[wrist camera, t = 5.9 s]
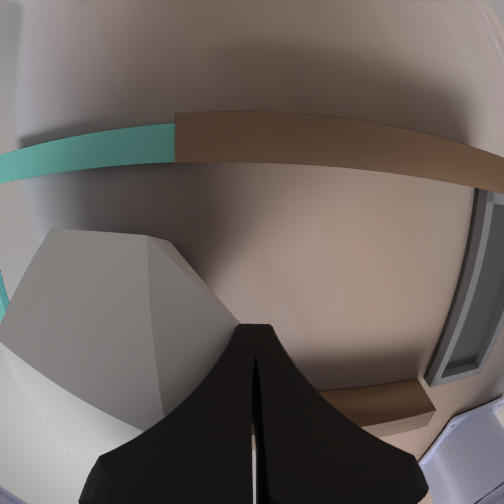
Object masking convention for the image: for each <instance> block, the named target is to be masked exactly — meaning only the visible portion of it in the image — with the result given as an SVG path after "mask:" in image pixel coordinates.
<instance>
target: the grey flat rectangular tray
mask: <svg viewBox="0 0 504 504" xmlns="http://www.w3.org/2000/svg"><path fill="white" fill-rule="evenodd" d="M503 322H504V194H500V193H496V192H492V191H488V190H483V189H479V188H476V189H475V198H474V206H473V213H472V220H471V226H470V232H469V237H468V242H467V247H466V252H465V256H464V261H463V265H462V269H461V273H460V277H459V281H458V284H457V288H456V292H455V295H454V298H453V302H452V305H451V308H450V311H449V314H448V317H447V320H446V323H445V326H444V329H443V331H442V334H441V337H440V339H439V342H438V344H437V347H436V350H435V352H434V354H433V357H432V359H431V362H430V364H429V366H428V368H427V371H426V373H425V375H424V377H423V378H424V379H425V381H426V382H427V384H428V385H429V387H433V386H437V385H441V384H444V383H448V382H452V381H455V380H459V379H462V378H466V377H469V376H472V375H475V374H478V373H480V372H481V371H482V369H483V367H484V365H485V363H486V361H487V359H488V357H489V355H490V352H491V350H492V348H493V346H494V344H495V342H496V339H497V337H498V335H499V332H500V330H501V327H502V325H503Z"/></svg>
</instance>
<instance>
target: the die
mask: <svg viewBox="0 0 504 504" xmlns="http://www.w3.org/2000/svg"><path fill="white" fill-rule="evenodd" d="M238 324H241V323H240V322H239V321H238V320H237V319H236V318H235V317H234V316H233V314H232V313H231V312H230V311H229V310H228V309H227V308H226V307H225V305H224V304H223V303H222V302H221V301H220V300H219V299H218V297H217V296H216V295H215V294H214V293H213V292H212V291H211V289H210V288H209V287H208V286H207V285H206V284H205V282H204V281H203V280H202V279H201V278H200V277H199V275H198V274H197V273H196V272H195V271H194V269H193V268H192V267H191V266H190V265H189V263H188V262H187V261H186V260H185V259H184V257H183V256H182V255H181V254H180V253H179V251H178V250H177V249H176V248H175V247H174V245H173V244H172V243H171V242H170V241H167V240H163V239H160V238H156V237H152V236H148V235H137V234H125V233H113V232H100V231H87V230H74V229H61V228H51V230H50V231H49V233H48V234H47V236H46V237H45V239H44V241H43V242H42V244H41V246H40V247H39V249H38V250H37V252H36V254H35V256H34V257H33V259H32V261H31V263H30V264H29V266H28V268H27V270H26V272H25V273H24V275H23V277H22V279H21V281H20V283H19V285H18V287H17V289H16V291H15V293H14V295H13V297H12V299H11V301H10V303H9V305H8V307H7V310H6V312H5V314H4V316H3V319H2V321H1V324H0V349H1V351H2V353H3V355H4V357H5V359H6V361H7V363H8V365H9V367H10V369H11V371H12V373H13V374H14V376H15V378H16V380H17V382H18V383H19V385H20V387H21V388H22V390H23V392H24V393H25V395H26V397H27V398H28V400H29V401H30V403H31V405H32V406H33V408H34V409H35V411H36V412H37V413H38V415H39V417H40V418H41V419H42V421H43V422H44V424H45V425H46V426H47V428H48V429H49V431H50V432H51V433H52V435H53V436H54V437H55V439H56V440H57V441H58V442H59V444H60V445H61V446H62V447H63V449H64V450H65V451H66V452H67V453H68V455H72V454H89V453H101V452H109V451H111V450H113V449H115V448H117V447H119V446H121V445H123V444H124V443H126V442H128V441H130V440H132V439H134V438H135V437H137V436H138V435H140V434H141V433H143V432H144V431H146V430H147V429H149V428H150V427H152V426H153V425H155V424H156V423H157V422H159V421H160V420H162V419H163V418H164V417H165V416H167V415H168V414H169V413H170V412H172V411H173V410H174V409H175V408H176V407H177V406H178V405H179V404H180V403H182V402H183V401H184V400H185V399H186V398H187V397H188V396H189V395H190V394H191V393H192V392H193V391H194V390H195V389H196V387H197V386H198V385H199V384H200V383H201V382H202V381H203V379H204V378H205V377H206V376H207V374H208V373H209V372H210V370H211V369H212V368H213V367H214V365H215V364H216V362H217V361H218V360H219V358H220V356H221V355H222V353H223V352H224V350H225V348H226V347H227V345H228V343H229V341H230V340H231V338H232V336H233V333H234V331H235V328H236V326H237V325H238Z"/></svg>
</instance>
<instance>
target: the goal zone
mask: <svg viewBox="0 0 504 504" xmlns="http://www.w3.org/2000/svg"><path fill="white" fill-rule="evenodd" d="M163 162H175V123H171V124H159V125H148V126H139V127H130V128H122V129H115V130H108V131H102V132H95V133H90V134H84V135H79V136H74V137H69V138H64V139H59V140H55V141H50V142H46V143H42V144H38V145H34V146H30V147H26V148H23V149H19V150H16V151H12V152H9V153H6V154H2V155H0V183H4V182H9V181H14V180H19V179H24V178H30V177H35V176H41V175H47V174H54V173H60V172H67V171H75V170H83V169H91V168H100V167H109V166H120V165H132V164H146V163H163ZM8 305H9V300H8V296H7V293H6V290H5V286H4V282H3V279H2V275H1V271H0V322H1V321H2V319H3V316H4V314H5V312H6V310H7V307H8Z"/></svg>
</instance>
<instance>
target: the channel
mask: <svg viewBox="0 0 504 504" xmlns="http://www.w3.org/2000/svg"><path fill="white" fill-rule="evenodd" d="M200 162H253V163H284V164H303V165H318V166H331V167H343V168H353V169H363V170H372V171H380V172H388V173H395V174H402V175H409V176H416V177H422V178H428V179H434V180H439V181H445V182H450V183H455V184H460V185H465V186H470V187H475V188H479V189H483V190H488V191H492V192H496V193H500V194H504V158H503V157H500V156H498V155H495V154H492V153H489V152H487V151H484V150H481V149H478V148H475V147H472V146H468V145H465V144H462V143H459V142H455V141H452V140H448V139H445V138H441V137H437V136H433V135H429V134H425V133H421V132H417V131H412V130H408V129H403V128H398V127H393V126H388V125H383V124H377V123H371V122H365V121H359V120H352V119H345V118H337V117H328V116H319V115H308V114H295V113H278V112H245V111H228V112H195V113H178V114H175V163H200ZM319 393H320V394H321V395H322V396H323V397H324V398H325V399H326V400H327V401H328V402H329V403H330V404H331V405H332V406H333V407H335V408H336V409H337V410H338V411H339V412H340V413H342V414H343V415H344V416H346V417H347V418H348V419H350V420H351V421H353V422H354V423H355V424H357V425H358V426H359V427H361V428H362V429H364V430H365V431H367V432H369V433H370V434H372V435H374V436H375V437H377V438H380V437H385V436H389V435H394V434H398V433H402V432H406V431H410V430H414V429H417V428H421V427H424V426H427V424H428V423H429V421H430V420H431V418H432V417H433V415H434V413H435V412H436V409H435V407H434V405H433V404H432V402H431V400H430V399H429V397H428V395H427V394H426V392H425V390H424V389H423V387H422V385H421V384H420V382H419V380H418V379H413V380H408V381H402V382H397V383H390V384H384V385H377V386H370V387H362V388H354V389H344V390H333V391H320V392H319ZM252 450H256V447H255V437H254V428H253V424H252Z"/></svg>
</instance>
